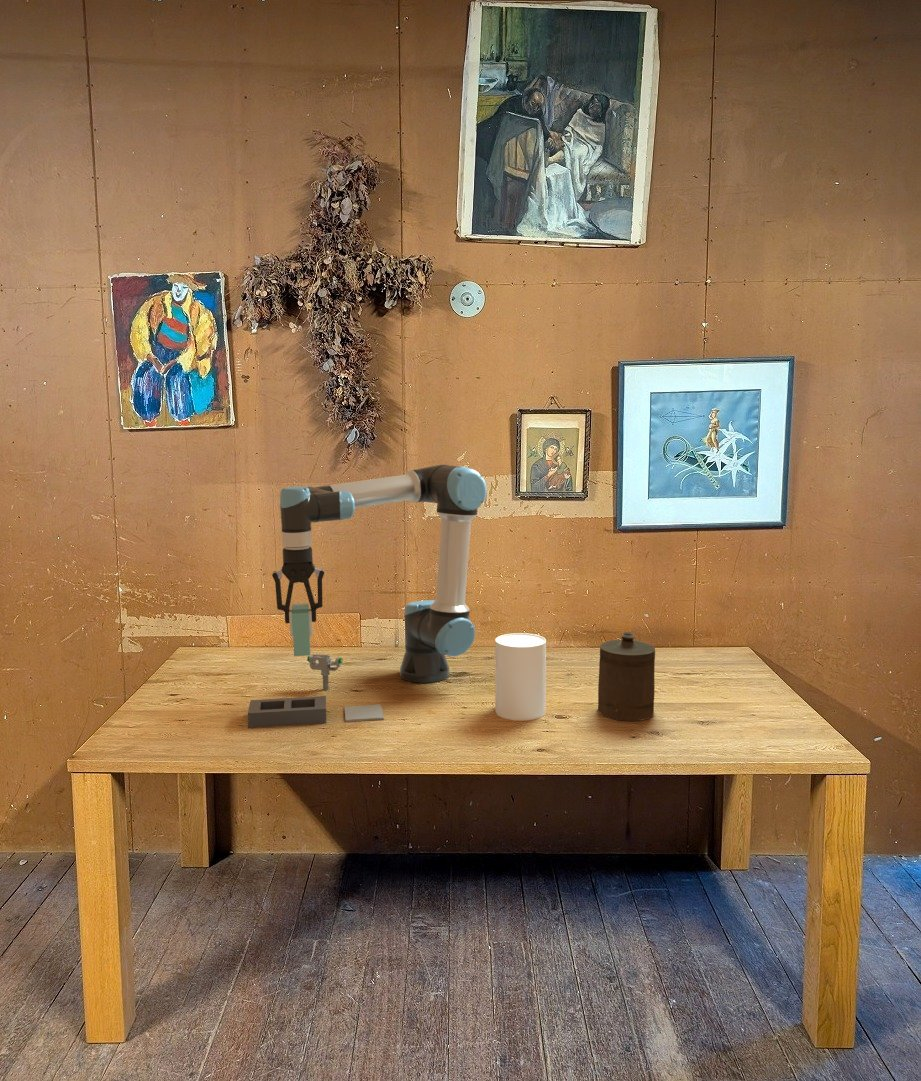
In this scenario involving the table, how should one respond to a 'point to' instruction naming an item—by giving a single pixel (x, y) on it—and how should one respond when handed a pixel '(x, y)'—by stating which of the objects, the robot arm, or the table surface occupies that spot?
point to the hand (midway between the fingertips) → (301, 634)
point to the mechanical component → (324, 666)
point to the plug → (301, 629)
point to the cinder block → (287, 711)
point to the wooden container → (626, 679)
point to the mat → (363, 713)
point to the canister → (520, 676)
